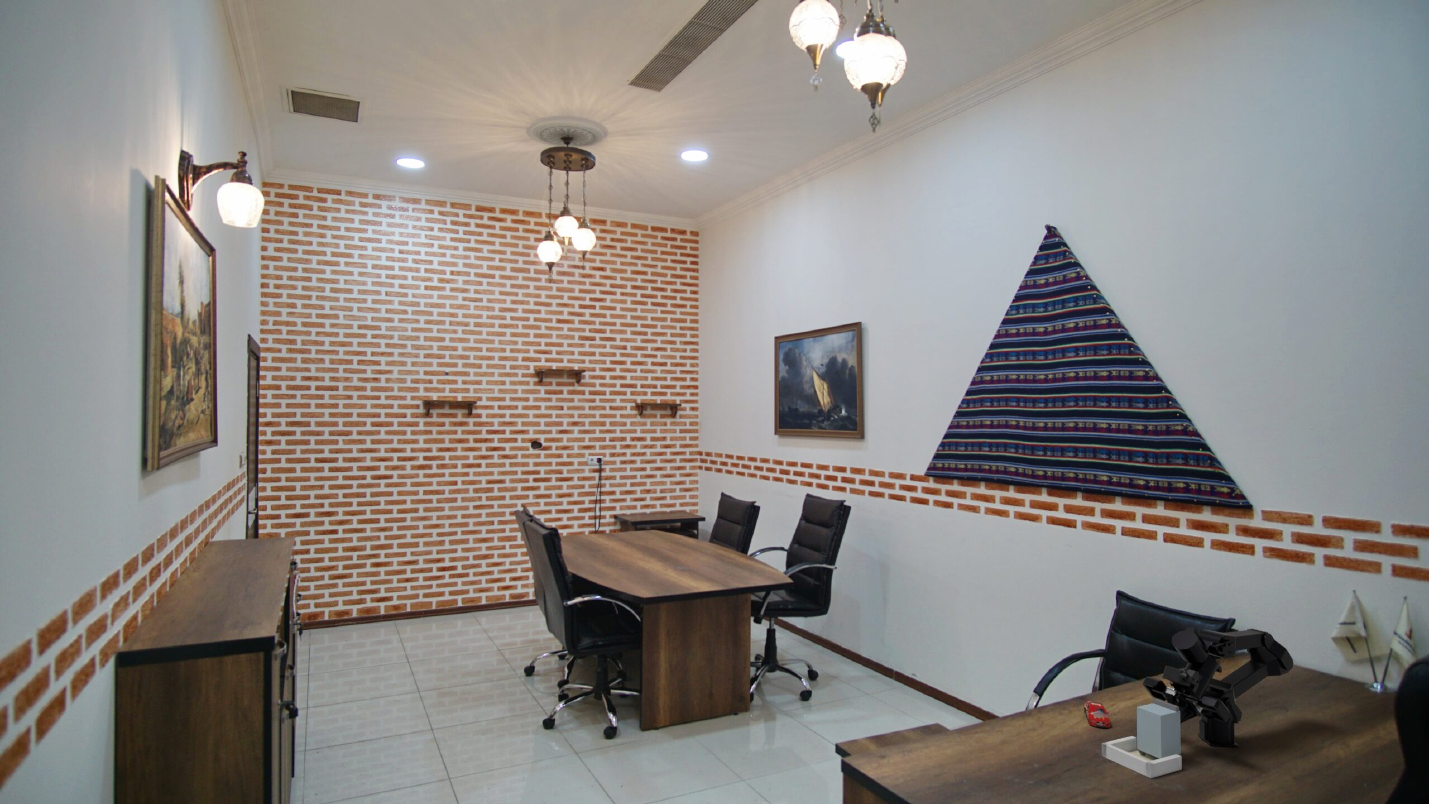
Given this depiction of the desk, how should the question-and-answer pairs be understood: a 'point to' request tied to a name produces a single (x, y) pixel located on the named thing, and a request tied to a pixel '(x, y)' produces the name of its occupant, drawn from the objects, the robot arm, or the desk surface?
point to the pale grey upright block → (1158, 729)
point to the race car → (1096, 714)
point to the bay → (1139, 758)
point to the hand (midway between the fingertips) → (1168, 727)
